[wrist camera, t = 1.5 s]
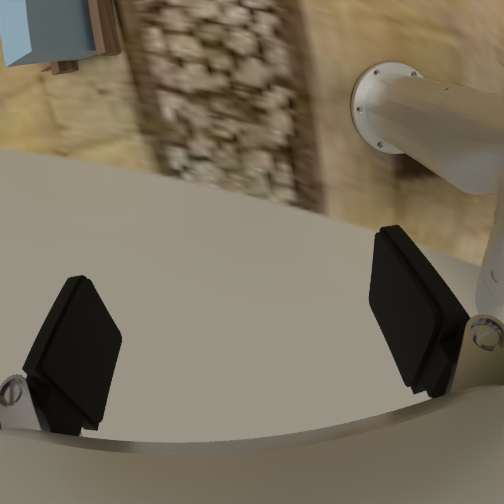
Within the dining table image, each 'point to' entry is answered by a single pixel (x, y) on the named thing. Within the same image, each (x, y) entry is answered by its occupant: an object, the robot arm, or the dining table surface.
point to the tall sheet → (45, 31)
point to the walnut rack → (96, 35)
